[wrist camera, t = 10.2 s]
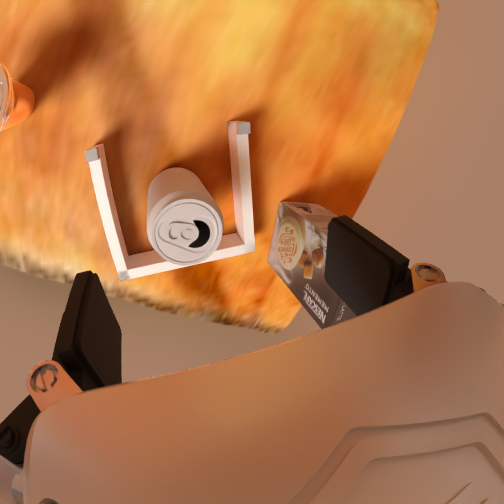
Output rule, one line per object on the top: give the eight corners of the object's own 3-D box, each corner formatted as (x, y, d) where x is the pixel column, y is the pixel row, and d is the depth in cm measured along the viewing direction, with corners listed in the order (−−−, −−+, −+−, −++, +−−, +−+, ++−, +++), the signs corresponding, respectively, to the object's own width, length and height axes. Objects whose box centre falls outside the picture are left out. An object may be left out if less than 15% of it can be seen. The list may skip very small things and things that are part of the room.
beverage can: (196, 221, 34) (218, 272, 24) (143, 216, 32) (142, 267, 22) (207, 170, 32) (236, 200, 22) (152, 162, 29) (152, 189, 19)
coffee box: (305, 260, 43) (370, 328, 29) (266, 262, 41) (324, 338, 27) (319, 202, 39) (401, 255, 26) (278, 198, 37) (354, 256, 23)
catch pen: (237, 120, 30) (250, 122, 27) (246, 239, 38) (257, 254, 34) (93, 145, 26) (84, 150, 22) (122, 265, 34) (120, 285, 30)
